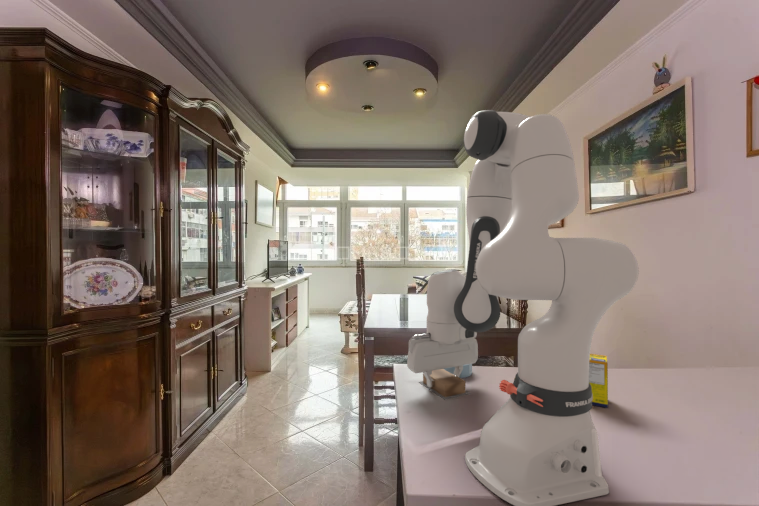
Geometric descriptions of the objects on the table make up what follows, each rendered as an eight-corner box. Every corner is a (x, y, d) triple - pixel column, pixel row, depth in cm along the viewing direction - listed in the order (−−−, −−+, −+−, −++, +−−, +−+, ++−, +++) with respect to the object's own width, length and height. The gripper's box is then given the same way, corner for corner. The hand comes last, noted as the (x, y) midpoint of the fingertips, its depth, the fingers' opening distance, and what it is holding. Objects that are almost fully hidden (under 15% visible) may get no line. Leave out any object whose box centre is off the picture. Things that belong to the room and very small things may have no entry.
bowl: (452, 383, 93) (452, 367, 93) (433, 372, 102) (433, 358, 102) (478, 378, 97) (478, 362, 97) (458, 368, 106) (458, 354, 106)
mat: (444, 403, 81) (444, 399, 81) (418, 385, 92) (418, 382, 92) (470, 397, 84) (470, 393, 84) (442, 380, 95) (442, 377, 95)
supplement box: (607, 399, 84) (607, 355, 84) (608, 408, 78) (608, 361, 78) (579, 393, 87) (579, 351, 87) (578, 402, 82) (578, 357, 82)
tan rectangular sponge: (445, 397, 82) (445, 384, 82) (423, 382, 91) (423, 371, 91) (465, 392, 85) (465, 380, 85) (442, 379, 94) (442, 368, 94)
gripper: (415, 338, 81) (415, 395, 81) (481, 330, 90) (481, 382, 90) (402, 332, 87) (402, 386, 87) (466, 325, 95) (466, 374, 95)
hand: (443, 384), depth 88 cm, fingers closed on tan rectangular sponge, 6 cm apart
